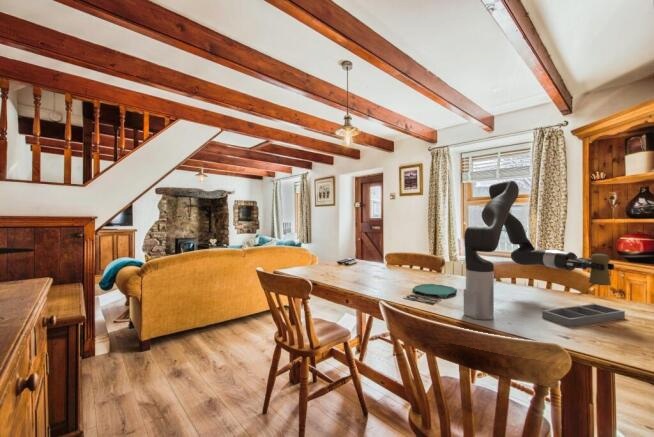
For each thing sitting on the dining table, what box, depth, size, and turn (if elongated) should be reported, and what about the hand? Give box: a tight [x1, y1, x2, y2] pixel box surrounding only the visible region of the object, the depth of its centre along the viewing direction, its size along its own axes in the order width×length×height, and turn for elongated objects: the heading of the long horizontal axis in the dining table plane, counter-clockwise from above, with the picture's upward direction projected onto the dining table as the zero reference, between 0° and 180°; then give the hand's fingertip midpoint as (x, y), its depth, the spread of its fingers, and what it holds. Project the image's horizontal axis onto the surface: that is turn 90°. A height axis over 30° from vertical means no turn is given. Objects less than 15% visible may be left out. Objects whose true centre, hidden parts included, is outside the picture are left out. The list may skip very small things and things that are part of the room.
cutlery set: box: [402, 283, 458, 305], centre depth 139 cm, size 20×30×2 cm, turn 137°
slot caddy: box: [541, 303, 626, 328], centre depth 107 cm, size 27×10×2 cm, turn 107°
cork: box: [588, 253, 612, 286], centre depth 109 cm, size 6×6×11 cm
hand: (608, 267), depth 106 cm, fingers closed on cork, 4 cm apart
